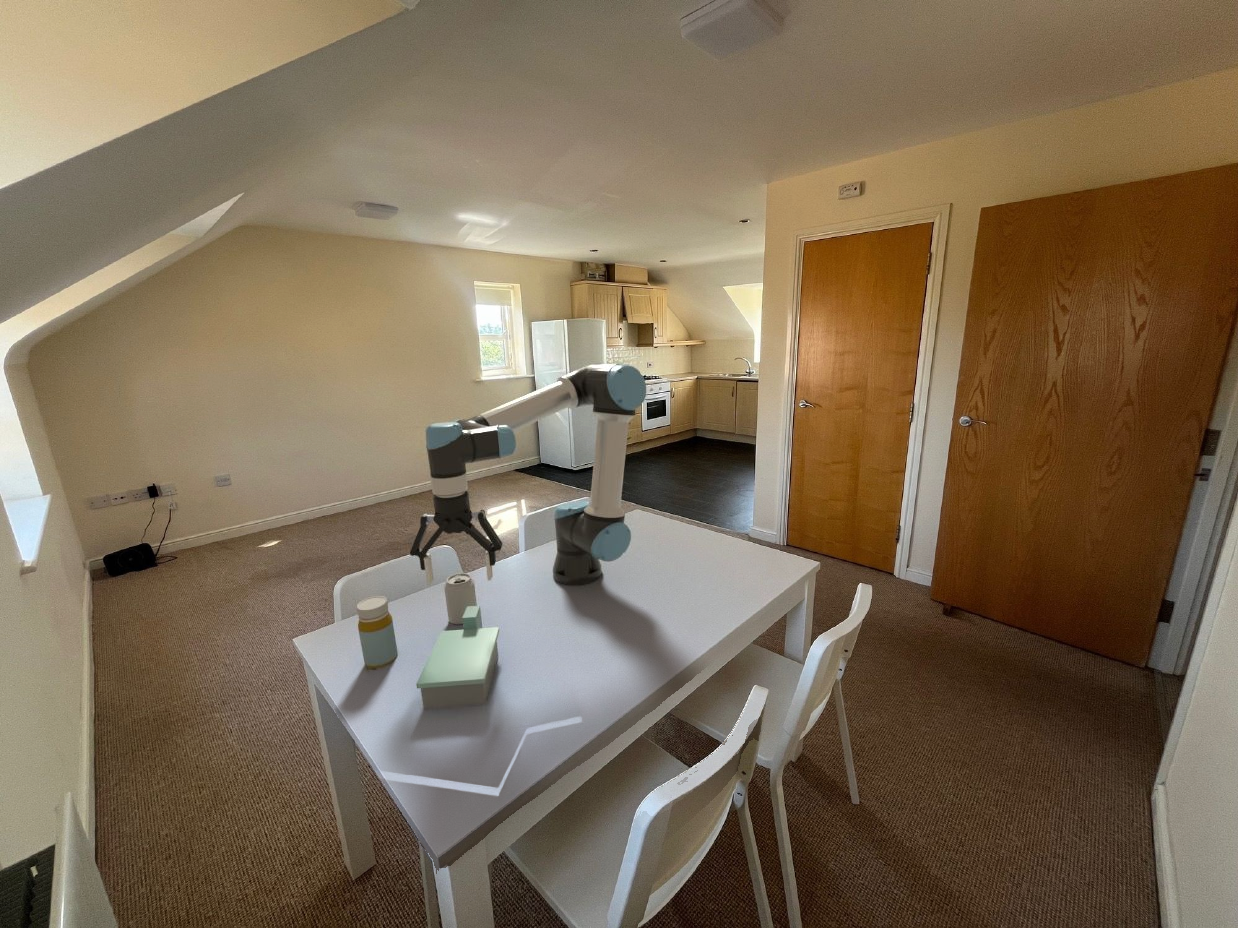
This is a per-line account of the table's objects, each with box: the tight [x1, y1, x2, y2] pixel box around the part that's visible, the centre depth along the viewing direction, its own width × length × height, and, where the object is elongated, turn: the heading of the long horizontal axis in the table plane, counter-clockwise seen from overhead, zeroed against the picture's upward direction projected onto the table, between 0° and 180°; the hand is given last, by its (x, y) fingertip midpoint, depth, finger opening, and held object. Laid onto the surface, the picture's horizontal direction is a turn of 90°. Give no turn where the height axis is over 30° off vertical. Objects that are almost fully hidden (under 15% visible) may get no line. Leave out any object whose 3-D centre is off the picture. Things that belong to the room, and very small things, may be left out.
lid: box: [415, 605, 500, 689], centre depth 107 cm, size 13×23×7 cm, turn 4°
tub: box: [420, 641, 499, 710], centre depth 105 cm, size 12×16×6 cm
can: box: [443, 572, 478, 626], centre depth 129 cm, size 8×8×12 cm
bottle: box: [356, 595, 399, 671], centre depth 112 cm, size 7×7×15 cm
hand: (460, 579), depth 115 cm, fingers open, 13 cm apart
